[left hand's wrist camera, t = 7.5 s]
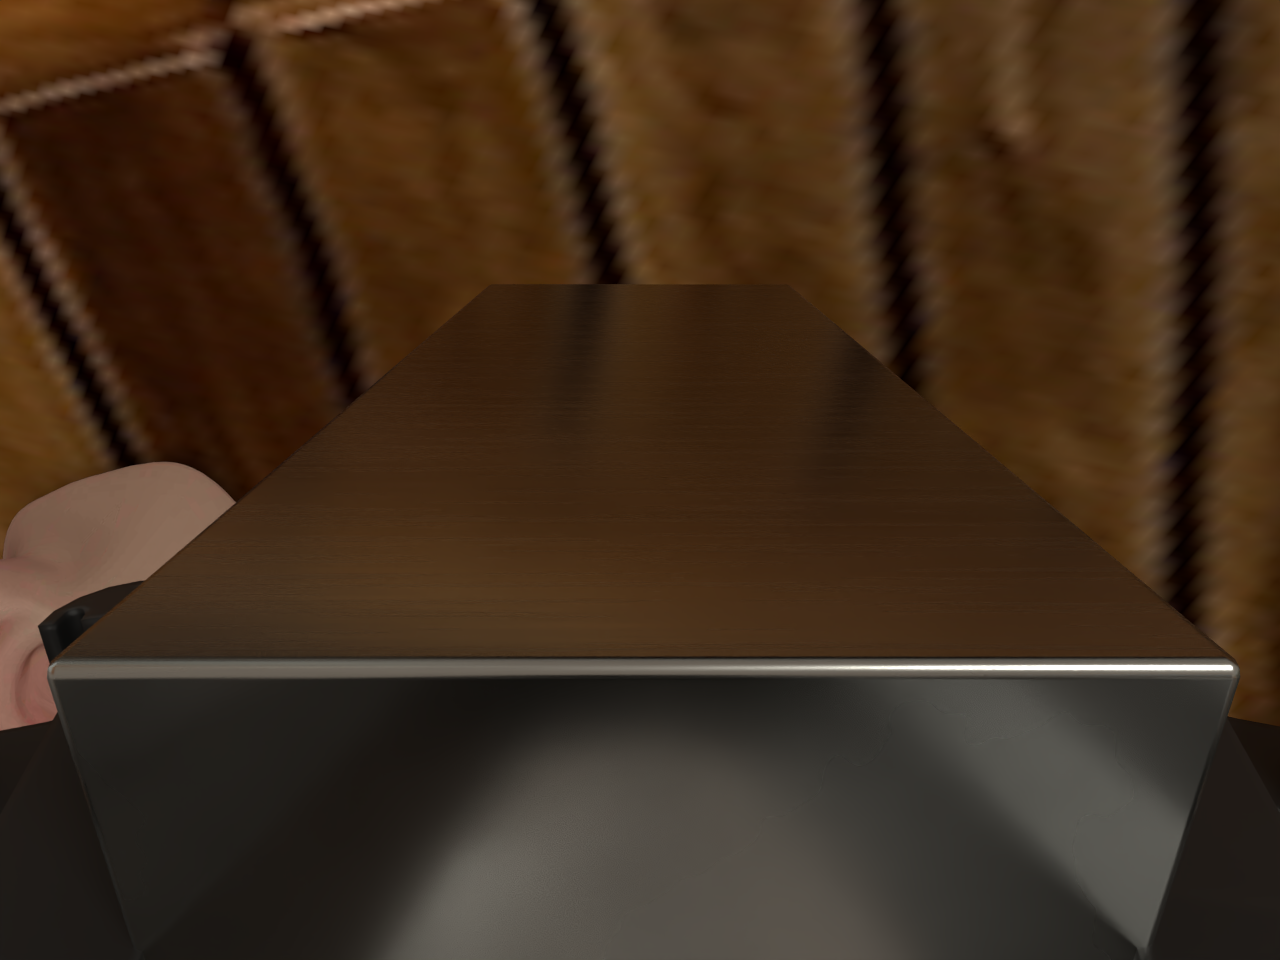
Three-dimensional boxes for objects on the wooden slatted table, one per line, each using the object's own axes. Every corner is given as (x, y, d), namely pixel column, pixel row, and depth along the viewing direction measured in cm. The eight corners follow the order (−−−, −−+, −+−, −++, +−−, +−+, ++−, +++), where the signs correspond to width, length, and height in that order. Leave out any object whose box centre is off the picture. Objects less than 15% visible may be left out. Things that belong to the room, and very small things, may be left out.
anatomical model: (34, 440, 22) (359, 702, 25) (121, 399, 26) (396, 632, 29) (-205, 711, 25) (110, 912, 28) (-96, 641, 29) (171, 825, 32)
